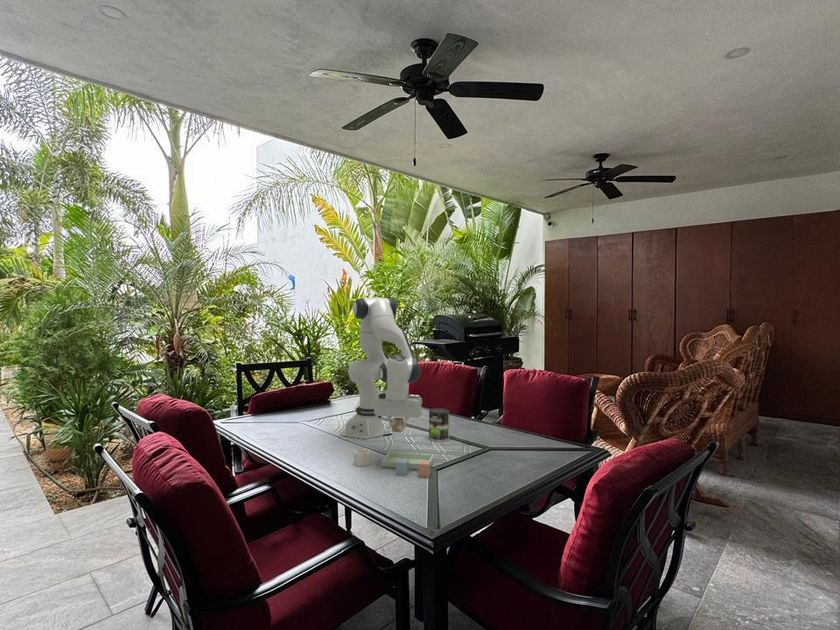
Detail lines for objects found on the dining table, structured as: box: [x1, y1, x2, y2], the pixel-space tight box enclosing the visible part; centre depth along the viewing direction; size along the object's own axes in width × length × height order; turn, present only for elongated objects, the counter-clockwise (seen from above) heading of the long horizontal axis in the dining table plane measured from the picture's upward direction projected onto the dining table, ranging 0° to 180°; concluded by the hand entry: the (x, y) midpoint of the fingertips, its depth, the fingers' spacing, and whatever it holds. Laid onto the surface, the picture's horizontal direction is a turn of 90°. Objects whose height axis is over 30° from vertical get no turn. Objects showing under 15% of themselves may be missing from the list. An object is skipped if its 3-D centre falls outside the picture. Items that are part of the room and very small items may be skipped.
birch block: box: [391, 417, 405, 433], centre depth 184 cm, size 4×4×5 cm
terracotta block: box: [418, 460, 432, 478], centre depth 172 cm, size 4×4×5 cm
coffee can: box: [428, 407, 450, 442], centre depth 219 cm, size 10×10×14 cm
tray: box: [380, 451, 435, 471], centre depth 183 cm, size 20×12×3 cm, turn 78°
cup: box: [353, 448, 372, 467], centre depth 184 cm, size 7×7×5 cm
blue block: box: [395, 459, 410, 476], centre depth 174 cm, size 4×4×5 cm
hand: (397, 426), depth 184 cm, fingers closed on birch block, 4 cm apart
